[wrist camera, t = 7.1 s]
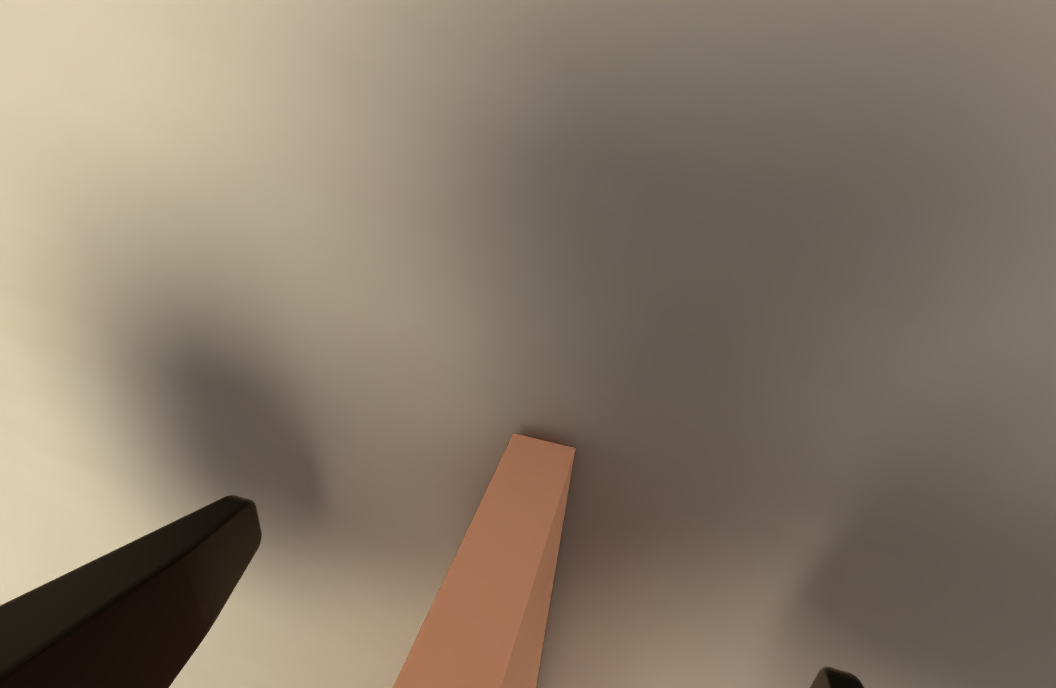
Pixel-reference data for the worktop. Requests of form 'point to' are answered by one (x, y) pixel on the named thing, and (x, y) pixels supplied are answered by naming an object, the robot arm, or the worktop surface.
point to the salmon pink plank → (498, 579)
